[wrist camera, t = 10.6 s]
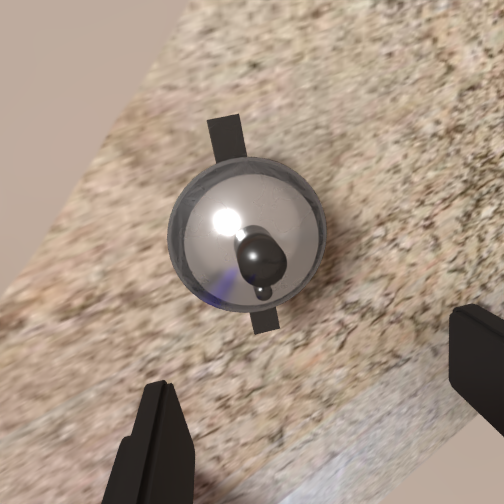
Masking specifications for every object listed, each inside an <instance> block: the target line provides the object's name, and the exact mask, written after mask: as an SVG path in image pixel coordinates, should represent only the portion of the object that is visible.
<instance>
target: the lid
mask: <svg viewBox="0 0 504 504" xmlns="http://www.w3.org/2000/svg"><path fill="white" fill-rule="evenodd" d="M318 240H319V236H318V227H317V222H316V219H315V216H314V213H313V211H312V209H311V207H310V205H309V204H308V202H307V201H306V199H305V198H304V197H303V196H302V195H301V194H300V193H299V192H298V191H297V190H296V189H294V188H293V187H292V186H290V185H289V184H287V183H285V182H283V181H281V180H279V179H276V178H273V177H270V176H266V175H260V174H244V175H237V176H234V177H230V178H228V179H225V180H223V181H221V182H219V183H217V184H216V185H214V186H213V187H212V188H210V189H209V190H208V191H206V193H205V194H204V195H203V196H202V197H201V198H200V199H199V200H198V202H197V203H196V205H195V206H194V208H193V210H192V212H191V214H190V217H189V219H188V222H187V226H186V230H185V238H184V247H185V254H186V259H187V262H188V265H189V268H190V270H191V272H192V273H193V275H194V277H195V278H196V280H197V281H198V282H199V283H200V284H201V285H202V287H203V288H205V289H206V290H207V291H208V292H209V293H211V294H212V295H214V296H216V297H217V298H219V299H221V300H224V301H226V302H229V303H233V304H238V305H260V304H265V303H269V302H272V301H275V300H277V299H279V298H281V297H283V296H285V295H286V294H288V293H289V292H291V291H292V290H293V289H295V288H296V287H297V286H298V285H299V284H300V283H301V282H302V281H303V279H304V278H305V277H306V275H307V274H308V272H309V271H310V269H311V267H312V265H313V263H314V260H315V257H316V254H317V249H318Z"/></svg>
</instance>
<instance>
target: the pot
mask: <svg viewBox="0 0 504 504" xmlns="http://www.w3.org/2000/svg"><path fill="white" fill-rule="evenodd" d="M207 125H208V129H209V133H210V138H211V142H212V147H213V151H214V156H215V160H216V164H215V165H212V166H210V167H209V168H207V169H205V170H204V171H202V172H201V173H200V174H198V175H197V176H196V177H195V178H194V179H193V180H192V181H191V182H190V183H189V184H188V185H187V186H186V187H185V188H184V190H183V191H182V193H181V194H180V196H179V197H178V199H177V201H176V203H175V205H174V207H173V210H172V213H171V215H170V219H169V224H168V234H167V241H168V250H169V255H170V259H171V262H172V264H173V267H174V269H175V271H176V273H177V275H178V277H179V278H180V280H181V281H182V282H183V284H184V285H185V286H186V287H187V288H188V289H189V290H190V291H191V292H192V293H193V294H194V295H195V296H197V297H198V298H199V299H201V300H202V301H204V302H206V303H207V304H209V305H212V306H214V307H216V308H219V309H223V310H226V311H232V312H242V313H247V312H249V313H250V317H251V322H252V326H253V330H254V334H255V335H256V334H260V333H264V332H268V331H272V330H276V329H280V326H279V321H278V316H277V310H276V306H278V305H280V304H282V303H284V302H286V301H288V300H289V299H291V298H292V297H294V296H295V295H296V294H298V293H299V292H300V291H301V290H302V289H303V288H304V287H305V286H306V285H307V284H308V282H309V281H310V280H311V279H312V277H313V276H314V274H315V273H316V271H317V269H318V267H319V265H320V263H321V260H322V257H323V254H324V251H325V246H326V237H327V227H326V219H325V214H324V211H323V208H322V205H321V203H320V200H319V198H318V196H317V195H316V193H315V192H314V190H313V189H312V187H311V186H310V185H309V184H308V183H307V181H306V180H305V179H304V178H303V177H301V176H300V175H299V174H298V173H297V172H295V171H294V170H292V169H291V168H289V167H287V166H285V165H283V164H281V163H279V162H276V161H272V160H269V159H265V158H257V157H247V153H246V148H245V143H244V137H243V132H242V127H241V122H240V116H239V114H235V115H230V116H225V117H220V118H215V119H210V120H207ZM244 174H260V175H266V176H270V177H273V178H276V179H279V180H281V181H283V182H285V183H287V184H289V185H290V186H292V187H293V188H294V189H296V190H297V191H298V192H299V193H300V194H301V195H302V196H303V197H304V198H305V199H306V201H307V202H308V204H309V205H310V207H311V209H312V211H313V213H314V216H315V219H316V222H317V227H318V236H319V240H318V249H317V254H316V257H315V260H314V263H313V265H312V267H311V269H310V271H309V272H308V274H307V275H306V277H305V278H304V279H303V281H302V282H301V283H300V284H299V285H298V286H297V287H296V288H295V289H293V290H292V291H291V292H289V293H288V294H286V295H285V296H283V297H281V298H279V299H277V300H275V301H272V302H269V303H265V304H260V305H238V304H233V303H229V302H226V301H224V300H221V299H219V298H217V297H216V296H214V295H212V294H211V293H209V292H208V291H207V290H206V289H205V288H203V287H202V285H201V284H200V283H199V282H198V281H197V280H196V278H195V277H194V275H193V273H192V272H191V270H190V268H189V265H188V262H187V259H186V254H185V247H184V238H185V230H186V226H187V222H188V219H189V217H190V214H191V212H192V210H193V208H194V206H195V205H196V203H197V202H198V200H199V199H200V198H201V197H202V196H203V195H204V194H205V193H206V191H208V190H209V189H210V188H212V187H213V186H214V185H216V184H217V183H219V182H221V181H223V180H225V179H228V178H230V177H234V176H237V175H244Z"/></svg>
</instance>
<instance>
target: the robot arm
mask: <svg viewBox="0 0 504 504" xmlns="http://www.w3.org/2000/svg"><path fill="white" fill-rule="evenodd" d="M449 381H450V384H451V385H452V387H453V388H454V389H455V390H456V391H457V392H458V393H459V394H460V395H461V396H462V397H463V398H464V399H465V400H466V401H467V402H468V403H469V404H470V405H471V406H472V407H473V408H474V409H475V410H476V411H477V412H478V413H479V414H480V415H482V416H483V417H484V418H485V419H486V420H487V421H488V422H489V423H490V424H491V425H492V426H493V427H494V428H495V429H496V430H497V431H498V432H499V433H500V434H501V435H502V436H503V437H504V320H503V319H501V318H500V317H498V316H496V315H494V314H492V313H491V312H489V311H487V310H485V309H484V308H482V307H480V306H478V305H476V304H468V305H464V306H460V307H456V308H454V310H453V313H452V314H450V317H449ZM194 472H195V449H194V444H193V441H192V438H191V436H190V433H189V430H188V427H187V424H186V421H185V418H184V415H183V412H182V409H181V406H180V403H179V400H178V398H177V395H176V392H175V389H174V386H173V384H172V383H170V384H167V382H166V381H165V380H162V381H158V382H154V383H150V384H147V385H146V386H145V388H144V392H143V395H142V399H141V402H140V406H139V409H138V413H137V416H136V420H135V423H134V427H133V430H132V434H131V436H127V437H124V438H123V439H122V441H121V443H120V446H119V449H118V452H117V455H116V458H115V462H114V465H113V468H112V471H111V474H110V477H109V481H108V484H107V487H106V490H105V493H104V496H103V500H102V503H101V504H193V491H194Z"/></svg>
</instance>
